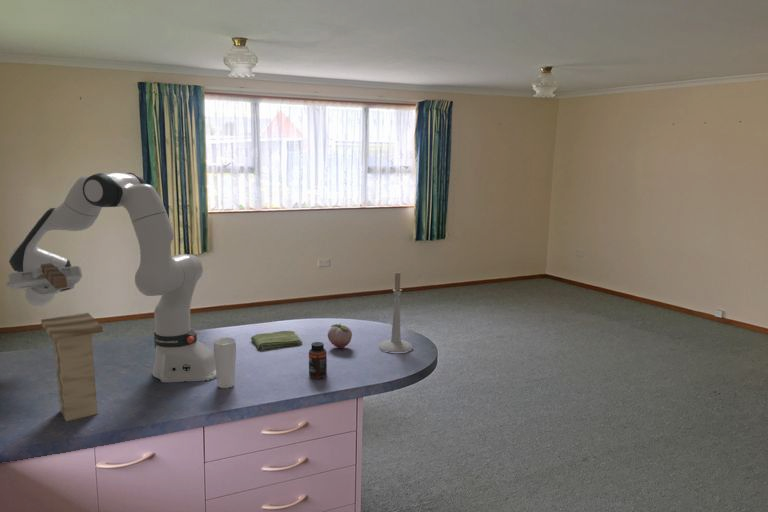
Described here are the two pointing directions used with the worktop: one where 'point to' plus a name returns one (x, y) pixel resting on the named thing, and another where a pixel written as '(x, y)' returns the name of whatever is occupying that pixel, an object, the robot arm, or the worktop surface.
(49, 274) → the block
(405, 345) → the candlestick
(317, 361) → the supplement bottle
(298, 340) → the washcloth
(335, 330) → the decorative fruit
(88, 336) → the stand
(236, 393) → the worktop surface
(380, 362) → the worktop surface
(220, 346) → the drinking glass
